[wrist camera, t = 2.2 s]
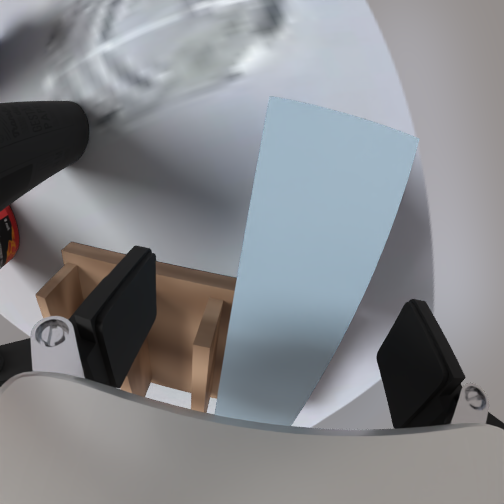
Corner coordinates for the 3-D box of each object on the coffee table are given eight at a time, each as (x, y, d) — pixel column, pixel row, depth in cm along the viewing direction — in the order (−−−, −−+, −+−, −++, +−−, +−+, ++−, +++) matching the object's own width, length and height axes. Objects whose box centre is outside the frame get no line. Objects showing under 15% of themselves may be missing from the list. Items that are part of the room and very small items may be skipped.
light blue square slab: (277, 102, 15) (269, 96, 4) (325, 113, 15) (419, 138, 4) (243, 278, 21) (211, 436, 10) (282, 286, 21) (276, 446, 10)
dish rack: (71, 241, 21) (27, 281, 15) (317, 293, 21) (325, 355, 15) (96, 352, 28) (73, 392, 22) (275, 396, 27) (271, 446, 22)
